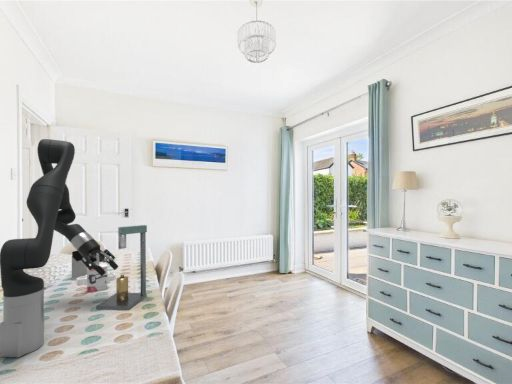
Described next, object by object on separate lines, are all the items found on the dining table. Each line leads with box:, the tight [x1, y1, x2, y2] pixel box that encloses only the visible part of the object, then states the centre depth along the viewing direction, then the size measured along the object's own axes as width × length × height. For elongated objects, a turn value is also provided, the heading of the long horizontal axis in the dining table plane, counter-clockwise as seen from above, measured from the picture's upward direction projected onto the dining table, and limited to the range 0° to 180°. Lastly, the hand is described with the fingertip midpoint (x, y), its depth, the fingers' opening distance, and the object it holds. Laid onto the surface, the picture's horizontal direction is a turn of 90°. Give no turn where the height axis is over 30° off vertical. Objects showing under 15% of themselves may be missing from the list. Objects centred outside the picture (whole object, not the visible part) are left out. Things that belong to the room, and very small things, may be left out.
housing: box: [115, 274, 129, 301], centre depth 112 cm, size 4×4×10 cm
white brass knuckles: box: [76, 271, 116, 286], centre depth 141 cm, size 3×18×15 cm
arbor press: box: [95, 224, 148, 311], centre depth 112 cm, size 15×15×32 cm
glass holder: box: [70, 250, 87, 281], centre depth 148 cm, size 9×14×15 cm, turn 132°
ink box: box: [86, 263, 109, 294], centre depth 127 cm, size 8×5×12 cm, turn 123°
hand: (110, 271), depth 112 cm, fingers open, 8 cm apart
